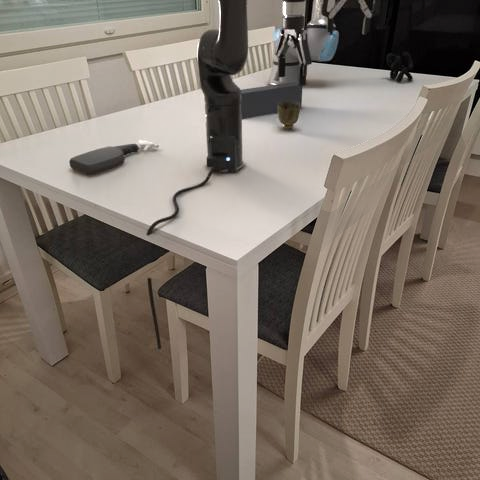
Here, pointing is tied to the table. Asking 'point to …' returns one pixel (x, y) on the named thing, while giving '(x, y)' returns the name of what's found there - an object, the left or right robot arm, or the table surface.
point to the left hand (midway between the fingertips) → (347, 34)
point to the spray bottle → (106, 157)
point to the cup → (288, 114)
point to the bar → (269, 98)
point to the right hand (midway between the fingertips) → (291, 80)
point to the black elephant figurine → (399, 66)
